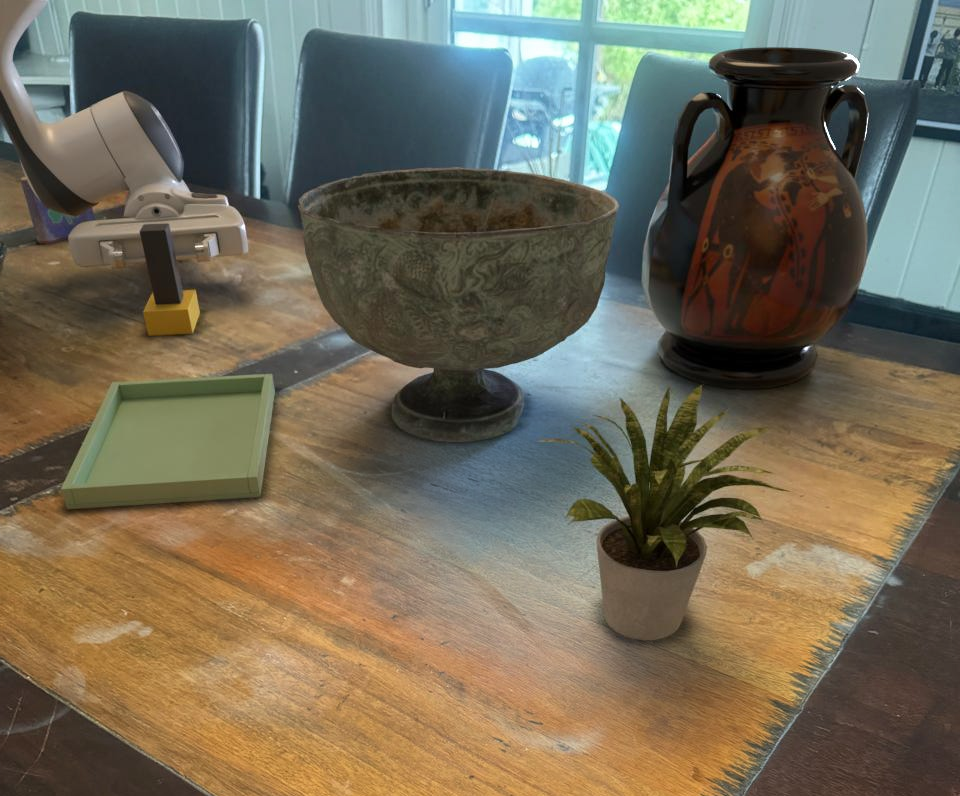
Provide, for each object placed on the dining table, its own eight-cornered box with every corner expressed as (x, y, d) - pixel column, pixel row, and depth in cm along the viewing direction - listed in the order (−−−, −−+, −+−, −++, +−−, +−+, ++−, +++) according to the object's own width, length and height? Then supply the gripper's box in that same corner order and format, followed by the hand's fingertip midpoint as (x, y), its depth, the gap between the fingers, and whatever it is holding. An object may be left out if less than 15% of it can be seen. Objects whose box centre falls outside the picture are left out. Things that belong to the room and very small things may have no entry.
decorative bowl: (264, 440, 86) (237, 204, 73) (388, 347, 105) (383, 147, 92) (539, 502, 78) (561, 252, 66) (619, 390, 97) (647, 180, 85)
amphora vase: (778, 319, 110) (830, 37, 93) (882, 392, 94) (969, 65, 77) (604, 337, 106) (625, 45, 89) (680, 416, 90) (724, 77, 73)
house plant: (587, 722, 57) (607, 480, 47) (493, 599, 67) (492, 378, 57) (781, 660, 61) (838, 427, 51) (665, 554, 71) (693, 341, 61)
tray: (67, 511, 77) (60, 489, 76) (117, 402, 94) (111, 382, 93) (260, 499, 78) (256, 476, 77) (275, 393, 95) (272, 373, 94)
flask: (42, 246, 137) (19, 165, 130) (34, 243, 138) (10, 162, 132) (102, 234, 142) (82, 155, 135) (93, 230, 144) (73, 152, 137)
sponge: (148, 337, 108) (125, 236, 101) (158, 316, 113) (136, 219, 106) (193, 335, 108) (173, 234, 101) (200, 314, 114) (181, 217, 107)
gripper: (66, 205, 114) (55, 235, 103) (238, 193, 118) (245, 221, 107) (80, 259, 118) (71, 294, 107) (246, 246, 122) (254, 278, 111)
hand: (160, 257), depth 107 cm, fingers open, 8 cm apart
